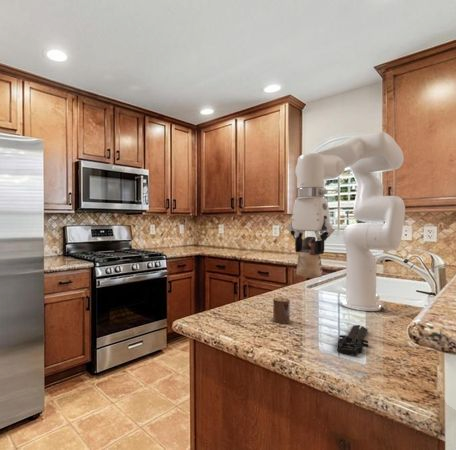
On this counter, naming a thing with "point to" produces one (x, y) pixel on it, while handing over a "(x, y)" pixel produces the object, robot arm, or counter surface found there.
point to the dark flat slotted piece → (356, 346)
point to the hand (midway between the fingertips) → (309, 252)
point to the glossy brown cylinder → (281, 310)
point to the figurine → (309, 259)
